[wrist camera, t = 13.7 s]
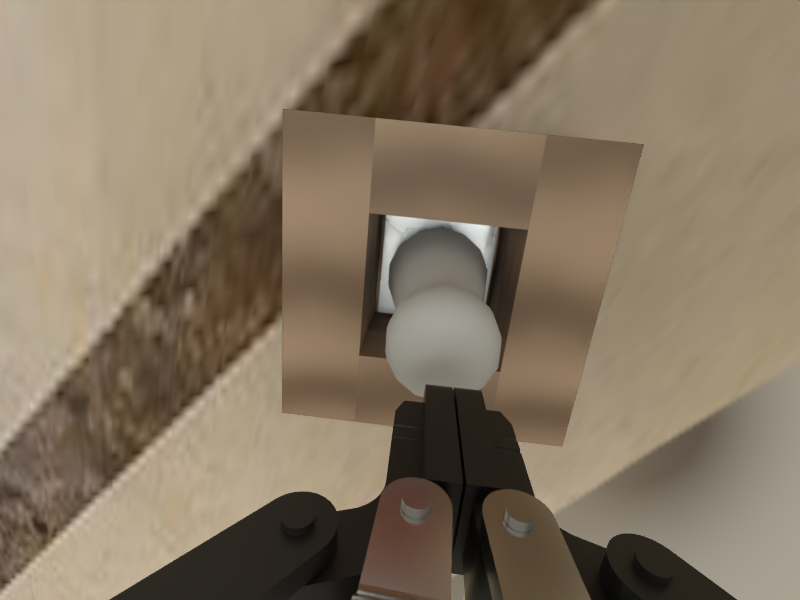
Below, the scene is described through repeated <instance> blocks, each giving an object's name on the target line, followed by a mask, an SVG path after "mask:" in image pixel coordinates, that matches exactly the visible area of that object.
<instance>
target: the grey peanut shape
mask: <svg viewBox="0 0 800 600" xmlns="http://www.w3.org/2000/svg"><path fill="white" fill-rule="evenodd" d="M487 272H488V269H487V267H486V264H485V261H484V258H483V255H482V252H481V250H480V249H479V248H478V247H477V246H476V245H475V244H474V243H473V242H472V241H471V240H470V239H469V238H468V237H467V236H465V235H464V234H462V233H459V232H456V231H452V230H449V229H446V228H443V227H440V228H433V229H427V230H421V231H418V232H417V233H416V234H414V235H413V236H411V237H410V238H408V239H407V240H405V241H404V242H402V243H401V244H400V245H399V247H398V249H397V251H396V252H395V254H394V256H393V258H392V260H391V261H390V264H389V280H388V286H389V289H390V292H391V295H392V299H393V302H394V305H395V308H396V311H395V312H394V314H393V316H392V318H391V319H390V321H389V323H388V326H387V332H386V348H385V352H386V358H387V361H388V363H389V365H390V367H391V369H392V371H393V373H394V375H395V377H396V379H397V380H398V381H399V382H400V383H401V384H402V385H404V386H405V387H406V388H407V389H408V390H410V391H411V392H412V393H413V394H414V395H417V396H421V397H424V390H425V385H426V384H429V385H438V386H447V387H452V388H453V389H454V387H456V388H464V389H473V390H479V389H481V388H483V387H484V386H485V385H486V383H487V382H488V381H489V379H490V378H491V377H492V375H493V374H494V373H495V371H496V370H497V369H498V365H499V358H500V350H501V334H500V331H499V328H498V325H497V323H496V320H495V317H494V314H493V312H492V310H491V309H490V307H489V306H487V305H486V304H485V303H484V297H485V289H486V281H487Z"/></svg>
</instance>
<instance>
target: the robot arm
mask: <svg viewBox="0 0 800 600" xmlns="http://www.w3.org/2000/svg"><path fill="white" fill-rule="evenodd" d="M451 573H453V574H460V575H464V585H465V593H464V598H463V600H737V599H735V598H734V597H733V596H731V595H730V594H728V593H727V592H726V591H725V590H723V589H722V588H721V587H719V586H718V585H716V584H715V583H714V582H712V581H711V580H710V579H708V578H707V577H706V576H704V575H703V574H702V573H700V572H699V571H698V570H696V569H695V568H693V567H692V566H691V565H689V564H688V563H687V562H685V561H684V560H682V559H681V558H680V557H678V556H677V555H676V554H674V553H673V552H672V551H670V550H669V549H667V548H666V547H664V546H663V545H661V544H659V543H657V542H656V541H653V540H651V539H649V538H646V537H644V536H641V535H636V534H620V535H616V536H615V537H613V538H612V539H611V540H610V541H609V543H608V545H607V548H603V547H601V546H599V545H596V544H594V543H591V542H588V541H586V540H583V539H581V538H578V537H576V536H573V535H572V534H569V533H568V532H566V531H564V530H562V529H561V528H559V526H558V524H557V521H556V519H555V517H554V515H553V514H552V512H551V511H550V510H549V509H548V508H547V507H546V505H545V504H543V503H542V502H541V501H540V500H538V499H537V498H535V496H534V493H533V490H532V486H531V483H530V480H529V477H528V474H527V471H526V467H525V464H524V461H523V458H522V455H521V453H520V448H519V445H518V442H517V441H516V436H515V433H514V429H513V426H512V424H511V423H510V422H509V421H508V420H507V418H506V417H505V416H504V415H503V414H502V413H501V412H500V411H492V410H486V407H485V402H484V398H483V394H482V391H481V390H473V389H464V388H456V387H454V389H453V388H452V387H447V386H438V385H429V384H426V385H425V390H424V398H423V402H415V401H406V400H405V401H404V402H403V403H402V404H401V405H400V406H399V407H398V408H397V409H396V411H395V418H394V426H393V433H392V441H391V449H390V456H389V464H388V472H387V479H386V484H385V487H384V489H383V491H382V492H381V494H380V495H379V496H378V497H377V498H376V499H375V500H373V501H372V502H370V503H368V504H366V505H364V506H361V507H358V508H354V509H348V510H341V511H336V509H335V507H334V506H333V504H332V503H331V502H330V501H329V500H328V499H326V498H325V497H323V496H321V495H319V494H316V493H312V492H293V493H289V494H286V495H283V496H281V497H279V498H277V499H275V500H273V501H272V502H270V503H268V504H267V505H265V506H263V507H262V508H260V509H258V510H257V511H255V512H253V513H252V514H250V515H249V516H247V517H245V518H244V519H242V520H240V521H239V522H237V523H235V524H234V525H232V526H230V527H229V528H227V529H225V530H224V531H222V532H220V533H219V534H217V535H216V536H214V537H212V538H211V539H209V540H207V541H206V542H204V543H202V544H201V545H199V546H197V547H196V548H194V549H192V550H191V551H189V552H187V553H186V554H184V555H182V556H181V557H179V558H178V559H176V560H174V561H173V562H171V563H169V564H168V565H166V566H164V567H163V568H161V569H159V570H158V571H156V572H154V573H153V574H151V575H149V576H148V577H146V578H145V579H143V580H141V581H140V582H138V583H136V584H135V585H133V586H131V587H130V588H128V589H126V590H125V591H123V592H121V593H120V594H118V595H116V596H115V597H113V598H112V599H110V600H451Z"/></svg>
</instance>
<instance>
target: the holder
mask: <svg viewBox="0 0 800 600" xmlns="http://www.w3.org/2000/svg"><path fill="white" fill-rule="evenodd" d="M643 145H644V144H636V143H626V142H615V141H605V140H595V139H585V138H575V137H564V136H554V135H544V134H534V133H524V132H513V131H503V130H493V129H483V128H473V127H462V126H452V125H442V124H432V123H422V122H411V121H401V120H391V119H381V118H371V117H360V116H350V115H340V114H330V113H320V112H309V111H299V110H289V109H283V233H282V413H288V414H297V415H305V416H313V417H321V418H330V419H338V420H346V421H355V422H363V423H371V424H379V425H388V426H394V418H395V411H396V409H397V408H398V407H399V406H400V405H401V404H402V403H403V402H404V401H405V400H406V401H415V402H423V398H424V397H421V396H417V395H414V394H413V393H412V392H411V391H410V390H408V389H407V388H406V387H405V386H404V385H402V384H401V383H400V382H399V381H398V380H397V379H396V377H395V375H394V373H393V371H392V369H391V367H390V365H389V363H388V361H387V358H386V352H385V348H386V332H387V326H388V323H389V321H390V319H391V318H392V316H393V314H391V313H382V312H378V305H379V293H380V281H381V269H382V257H383V245H384V233H385V221H386V215H391V216H401V217H410V218H420V219H429V220H439V221H448V222H458V223H467V224H477V225H486V226H496V227H499V228H498V234H497V240H496V246H495V252H494V257H493V263H492V269H491V275H490V281H489V286H488V292H487V298H486V305H487V306H489V307H490V309H491V310H492V312H493V314H494V317H495V320H496V323H497V325H498V328H499V331H500V334H501V350H500V358H499V365H498V369H497V370H496V371H495V373H494V374H493V375H492V377H491V378H490V379H489V381H488V382H487V383H486V385H485V386H484V387H483V388H481V389H479V390H481V391H482V394H483V398H484V402H485V407H486V410H492V411H500V412H501V413H502V414H503V415H504V416H505V417H506V418H507V420H508V421H509V422H510V423H511V424H512V426H513V429H514V433H515V436H516V441H520V442H528V443H537V444H545V445H553V446H561V447H562V445H563V442H564V438H565V434H566V431H567V427H568V423H569V420H570V416H571V412H572V408H573V405H574V401H575V397H576V394H577V390H578V386H579V382H580V379H581V375H582V371H583V368H584V364H585V360H586V357H587V353H588V349H589V345H590V342H591V338H592V334H593V331H594V327H595V323H596V319H597V316H598V312H599V308H600V305H601V301H602V297H603V293H604V290H605V286H606V282H607V279H608V275H609V271H610V268H611V264H612V260H613V256H614V253H615V249H616V245H617V242H618V238H619V234H620V230H621V227H622V223H623V219H624V216H625V212H626V208H627V205H628V201H629V197H630V193H631V190H632V186H633V182H634V179H635V175H636V171H637V167H638V164H639V160H640V156H641V153H642V149H643Z"/></svg>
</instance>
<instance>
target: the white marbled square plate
mask: <svg viewBox="0 0 800 600" xmlns="http://www.w3.org/2000/svg"><path fill="white" fill-rule="evenodd" d="M440 227H443V228H446V229H449V230H452V231H456V232H459V233H462V234H464V235H465V236H467V237H468V238H469V239H470V240H471V241H472V242H473V243H474V244H475V245H476V246H477V247H478V248H479V249H480V250H481V252H482V255H483V258H484V261H485V264H486V267H487V269H488V272H487V281H486V289H485V297H484V303H485V304H486V298H487V292H488V286H489V281H490V275H491V269H492V263H493V257H494V252H495V246H496V240H497V234H498V228H499V227H496V226H486V225H477V224H467V223H458V222H448V221H439V220H429V219H420V218H410V217H401V216H391V215H386V221H385V233H384V245H383V257H382V269H381V281H380V293H379V305H378V312H382V313H391V314H394V312H395V311H396V308H395V305H394V302H393V299H392V295H391V292H390V289H389V286H388V280H389V264H390V261H391V260H392V258H393V256H394V254H395V252H396V251H397V249H398V247H399V245H400V244H401V243H402V242H404V241H405V240H407V239H408V238H410V237H411V236H413V235H414V234H416V233H417V232H418V231H421V230H427V229H433V228H440Z"/></svg>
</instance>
